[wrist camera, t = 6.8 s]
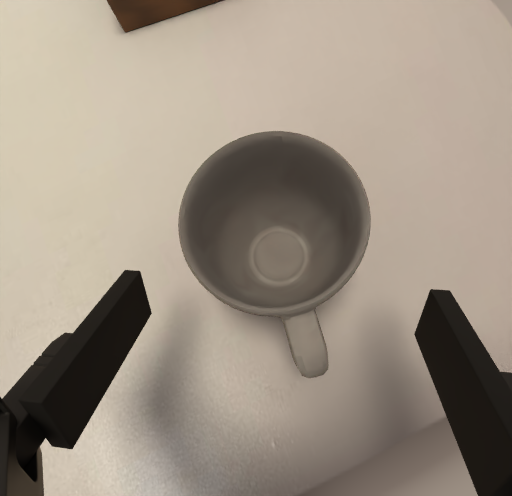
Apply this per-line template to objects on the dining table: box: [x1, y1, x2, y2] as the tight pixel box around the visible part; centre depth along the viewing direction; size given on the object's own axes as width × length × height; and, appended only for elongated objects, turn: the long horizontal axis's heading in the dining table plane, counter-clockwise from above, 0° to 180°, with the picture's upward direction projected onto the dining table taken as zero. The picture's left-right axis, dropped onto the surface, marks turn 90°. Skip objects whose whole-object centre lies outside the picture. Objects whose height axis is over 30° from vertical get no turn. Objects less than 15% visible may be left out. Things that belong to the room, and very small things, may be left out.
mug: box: [178, 131, 371, 378], centre depth 18 cm, size 12×9×10 cm
